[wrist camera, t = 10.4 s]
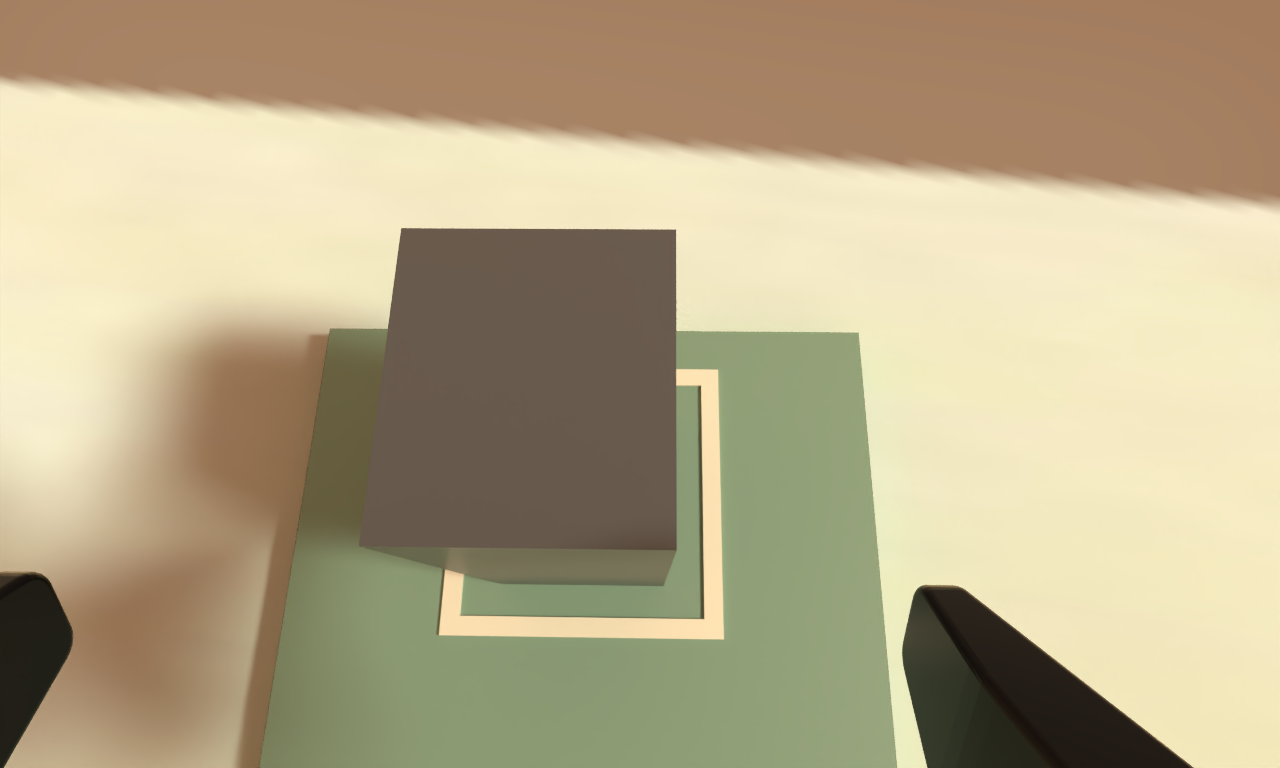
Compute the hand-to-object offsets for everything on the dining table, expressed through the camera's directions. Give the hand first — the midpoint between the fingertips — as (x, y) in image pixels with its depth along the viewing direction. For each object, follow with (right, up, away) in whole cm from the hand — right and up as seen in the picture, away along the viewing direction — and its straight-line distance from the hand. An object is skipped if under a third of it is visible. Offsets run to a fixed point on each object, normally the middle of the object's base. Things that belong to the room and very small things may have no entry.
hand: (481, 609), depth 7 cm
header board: (0, -6, +12) cm, 13 cm away
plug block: (0, -1, +13) cm, 13 cm away
